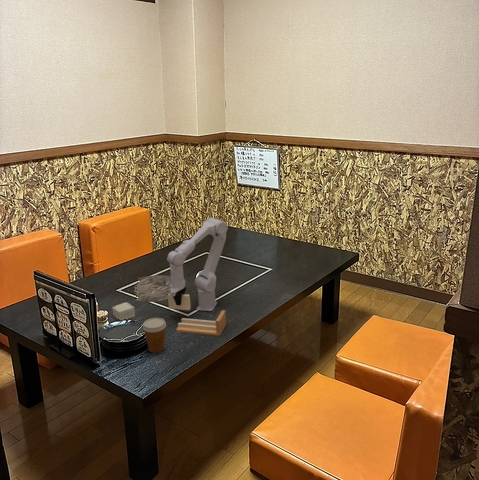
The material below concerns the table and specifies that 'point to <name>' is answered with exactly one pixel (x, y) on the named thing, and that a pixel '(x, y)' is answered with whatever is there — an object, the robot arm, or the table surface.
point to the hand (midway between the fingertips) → (179, 303)
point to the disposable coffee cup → (155, 334)
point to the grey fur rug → (153, 288)
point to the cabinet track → (203, 325)
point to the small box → (123, 311)
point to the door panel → (184, 302)
